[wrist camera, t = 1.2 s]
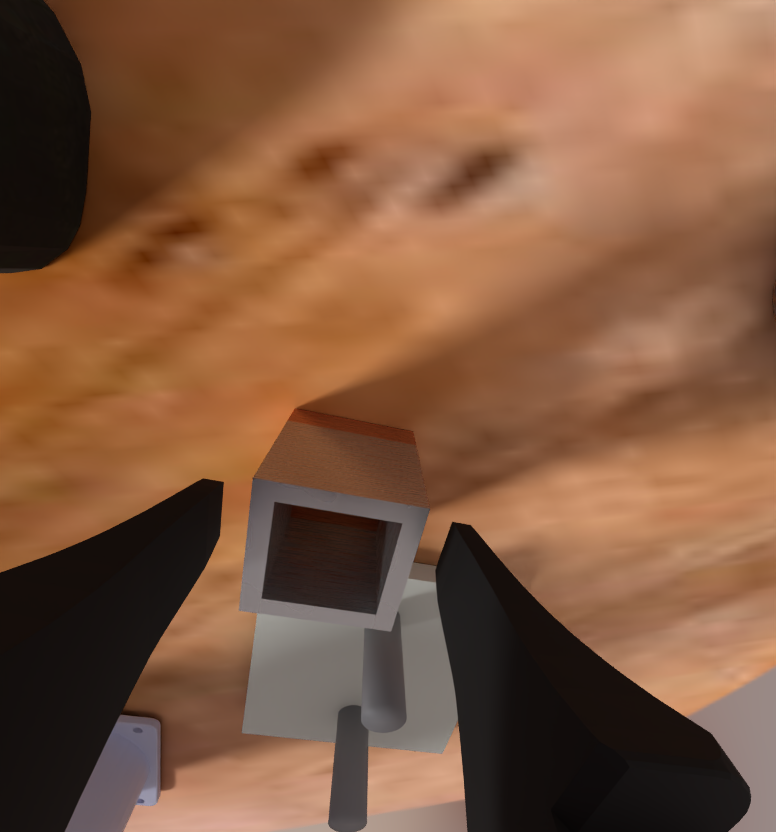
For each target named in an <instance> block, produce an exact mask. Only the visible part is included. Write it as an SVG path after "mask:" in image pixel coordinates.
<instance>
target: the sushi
mask: <svg viewBox="0 0 776 832" xmlns="http://www.w3.org/2000/svg"><path fill="white" fill-rule="evenodd" d="M90 120H91V110H90V105H89V100H88V95H87V91H86V86H85V81H84V76H83V72H82V67H81V64H80V62H79V60H78V58H77V56H76V54H75V52H74V50H73V48H72V46H71V44H70V43H69V41H68V39H67V37H66V35H65V33H64V31H63V29H62V27H61V25H60V23H59V21H58V19H57V17H56V15H55V14H54V12H53V11H52V10H51V9H50V8H49V6H48V5H47V4H46V3H45V2H44V0H0V273H15V272H22V271H29V270H36V269H42V268H43V267H45V266H46V265H47V264H48V263H50V262H51V261H52V260H54V259H55V258H56V257H58V256H59V255H60V254H62V253H63V252H64V251H66V250H67V249H68V247H69V245H70V243H71V242H72V240H73V238H74V236H75V234H76V232H77V230H78V228H79V226H80V221H81V216H82V210H83V205H84V200H85V194H86V184H87V168H88V152H89V136H90Z"/></svg>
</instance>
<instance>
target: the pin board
mask: <svg viewBox="0 0 776 832" xmlns="http://www.w3.org/2000/svg"><path fill="white" fill-rule="evenodd" d="M436 567H437V566H433V565H427V564H420V563H414V562H413V564H412V567H411V571H410V574H409V577H408V580H407V583H406V586H405V589H404V593H403V596H402V599H401V602H400V605H399V608H398V612H397V615H396V618H395V621H394V624H393V627H392V630H391V632H390V631H383V630H376V629H369V628H361V627H354V626H347V625H339V624H332V623H325V622H318V621H310V620H303V619H296V618H289V617H281V616H274V615H267V614H259V613H257V620H256V628H255V636H254V643H253V651H252V658H251V666H250V674H249V681H248V689H247V697H246V704H245V712H244V719H243V727H242V733H246V734H256V735H265V736H275V737H285V738H294V739H304V740H314V741H323V742H333V743H335V754H334V765H333V776H332V787H331V798H330V809H329V820H328V824H329V826H330V828H332V829H333V830H335V831H338V832H356V831H359V830H361V829H363V828H364V827H365V826H366V824H367V786H368V746H372V747H381V748H391V749H400V750H410V751H420V752H429V753H439V754H442V753H443V751H444V749H445V747H446V745H447V743H448V740H449V738H450V736H451V734H452V732H453V730H454V727H455V725H456V723H457V721H458V714H457V705H456V696H455V689H454V683H453V677H452V672H451V667H450V662H449V657H448V652H447V647H446V642H445V637H444V633H443V628H442V623H441V617H440V612H439V607H438V601H437V590H436V574H435V570H436Z"/></svg>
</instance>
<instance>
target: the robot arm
mask: <svg viewBox="0 0 776 832" xmlns="http://www.w3.org/2000/svg"><path fill="white" fill-rule="evenodd" d="M223 485H224V482H220V481H215V480H209V479H201V480H199V481H197V482H196V483H194V484H192V485H190V486H189V487H187V488H185V489H183V490H182V491H180V492H178V493H176V494H175V495H173V496H171V497H169V498H168V499H166V500H164V501H162V502H160V503H159V504H157V505H155V506H153V507H151V508H150V509H148V510H146V511H144V512H142V513H140V514H138V515H137V516H135V517H133V518H131V519H129V520H127V521H125V522H123V523H121V524H119V525H117V526H115V527H113V528H111V529H109V530H107V531H105V532H102V533H100V534H98V535H96V536H94V537H92V538H89V539H87V540H85V541H83V542H80V543H78V544H75V545H73V546H71V547H68V548H66V549H63V550H61V551H59V552H56V553H53V554H51V555H48V556H46V557H43V558H40V559H37V560H34V561H32V562H29V563H26V564H23V565H21V566H18V567H15V568H12V569H9V570H7V571H4V572H1V573H0V832H123V831H124V829H125V827H126V825H127V822H128V820H129V818H130V816H131V814H132V811H133V809H134V807H135V805H145V806H153V805H155V804H156V803H157V802H158V800H159V797H160V760H161V725H160V722H159V721H158V720H157V719H155V718H148V717H139V716H129V715H120V714H121V712H122V710H123V708H124V706H125V704H126V702H127V700H128V698H129V696H130V694H131V692H132V690H133V688H134V686H135V684H136V682H137V680H138V679H139V677H140V675H141V673H142V671H143V669H144V667H145V665H146V663H147V661H148V659H149V657H150V655H151V654H152V652H153V650H154V648H155V647H156V645H157V643H158V642H159V640H160V638H161V637H162V635H163V633H164V632H165V630H166V629H167V627H168V626H169V624H170V622H171V621H172V619H173V618H174V616H175V614H176V613H177V611H178V610H179V608H180V607H181V605H182V603H183V602H184V600H185V599H186V597H187V596H188V594H189V592H190V591H191V589H192V588H193V586H194V584H195V583H196V581H197V580H198V578H199V576H200V575H201V573H202V571H203V570H204V568H205V567H206V564H207V562H208V560H209V558H210V556H211V554H212V552H213V550H214V548H215V546H216V543H217V541H218V539H219V537H220V527H221V513H222V499H223ZM435 574H436V590H437V601H438V607H439V612H440V617H441V623H442V628H443V633H444V637H445V642H446V647H447V652H448V657H449V662H450V667H451V672H452V677H453V683H454V689H455V696H456V705H457V714H458V723H459V732H460V743H461V754H462V765H463V776H464V789H465V803H466V816H467V830H468V832H728V831H729V830H730V829H731V828H733V827H734V826H735V825H736V824H737V823H738V822H739V821H740V820H741V819H742V818H743V816H744V815H745V814H746V813H747V811H748V808H749V806H750V802H751V794H750V787H749V786H748V785H747V783H746V782H745V780H744V779H743V778H742V776H741V775H740V773H739V772H738V770H737V769H736V768H735V766H734V765H733V763H732V762H731V761H730V759H729V758H728V756H727V755H726V754H725V752H724V751H723V749H722V748H721V746H720V745H719V744H718V742H717V741H716V740H715V738H714V737H713V735H712V734H711V733H710V732H708V731H707V730H705V729H703V728H702V727H700V726H699V725H697V724H696V723H694V722H693V721H691V720H689V719H688V718H686V717H685V716H683V715H682V714H680V713H679V712H677V711H675V710H674V709H672V708H671V707H669V706H668V705H666V704H664V703H663V702H661V701H660V700H658V699H657V698H655V697H654V696H652V695H651V694H650V693H648V692H647V691H645V690H644V689H643V688H641V687H640V686H638V685H637V684H636V683H634V682H633V681H631V680H630V679H629V678H627V677H626V676H624V675H623V674H622V673H620V672H619V671H618V670H616V669H615V668H614V667H612V666H611V665H610V664H609V663H607V662H606V661H605V660H603V659H602V658H601V657H600V656H598V655H597V654H596V653H595V652H594V651H592V650H591V649H590V648H589V647H587V646H586V645H585V644H584V643H582V642H581V641H580V640H579V639H578V638H577V637H575V636H574V635H573V634H572V633H571V632H570V631H568V630H567V629H566V628H565V627H564V626H563V625H562V624H561V623H560V622H559V621H558V620H557V619H555V618H554V617H553V616H552V615H551V614H550V613H549V612H548V611H547V610H546V609H545V608H544V607H543V606H542V605H541V604H540V603H539V602H538V601H537V600H536V599H535V598H534V597H533V596H532V595H531V594H530V593H529V592H528V591H527V590H526V589H525V588H524V587H523V585H522V584H521V583H520V582H519V581H518V580H517V579H516V578H515V577H514V576H513V574H512V573H511V572H510V571H509V570H508V569H507V568H506V566H505V565H504V564H503V563H502V562H501V561H500V559H499V558H498V557H497V556H496V555H495V553H494V552H493V551H492V550H491V549H490V547H489V546H488V545H487V544H486V543H485V541H484V540H483V539H482V538H481V537H480V535H479V534H478V533H477V532H476V531H475V530H474V528H473V527H472V526H471V525H467V524H461V523H456V522H452V524H451V527H450V530H449V533H448V535H447V538H446V541H445V544H444V547H443V550H442V553H441V555H440V558H439V561H438V564H437V567H436V570H435Z"/></svg>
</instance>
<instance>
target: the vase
mask: <svg viewBox="0 0 776 832" xmlns="http://www.w3.org/2000/svg"><path fill="white" fill-rule="evenodd" d="M773 310H774V317H775V322H776V281H775V285H774V291H773Z"/></svg>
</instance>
